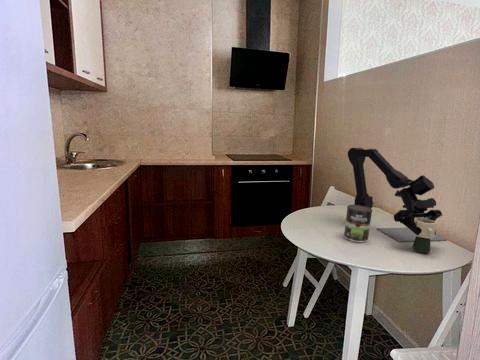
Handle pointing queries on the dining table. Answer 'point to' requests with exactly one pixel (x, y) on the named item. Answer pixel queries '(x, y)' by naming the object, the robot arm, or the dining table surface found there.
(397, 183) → the robot arm
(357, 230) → the coffee can
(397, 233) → the placemat
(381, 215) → the dining table surface
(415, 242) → the character mug
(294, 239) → the dining table surface
